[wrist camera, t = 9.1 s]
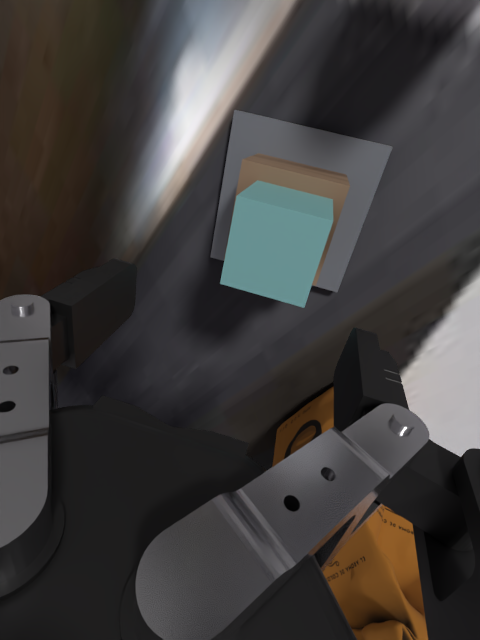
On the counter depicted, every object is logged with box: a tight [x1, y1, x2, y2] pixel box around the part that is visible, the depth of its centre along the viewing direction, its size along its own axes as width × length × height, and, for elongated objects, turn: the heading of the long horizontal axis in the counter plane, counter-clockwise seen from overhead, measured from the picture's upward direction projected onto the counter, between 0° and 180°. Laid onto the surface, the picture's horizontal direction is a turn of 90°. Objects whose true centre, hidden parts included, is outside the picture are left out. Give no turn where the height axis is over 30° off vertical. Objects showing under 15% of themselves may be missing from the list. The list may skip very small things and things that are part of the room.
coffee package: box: [272, 386, 428, 640], centre depth 30 cm, size 10×12×22 cm
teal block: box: [220, 180, 333, 308], centre depth 22 cm, size 5×5×6 cm
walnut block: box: [224, 153, 350, 286], centre depth 27 cm, size 7×7×6 cm
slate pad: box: [210, 110, 392, 292], centre depth 30 cm, size 12×12×1 cm
